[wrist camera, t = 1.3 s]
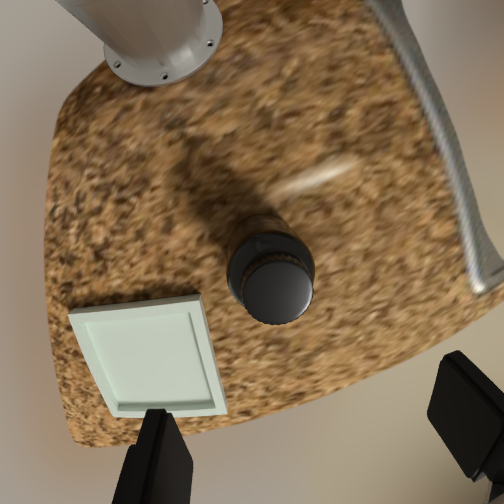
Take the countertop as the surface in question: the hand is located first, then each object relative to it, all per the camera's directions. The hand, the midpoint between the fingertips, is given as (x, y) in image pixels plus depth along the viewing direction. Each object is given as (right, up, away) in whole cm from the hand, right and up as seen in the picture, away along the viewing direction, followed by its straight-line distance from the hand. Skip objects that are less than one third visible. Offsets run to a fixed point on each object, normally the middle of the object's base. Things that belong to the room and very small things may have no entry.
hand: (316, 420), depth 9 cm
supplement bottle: (-1, +6, +23) cm, 23 cm away
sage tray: (-14, -8, +25) cm, 30 cm away
